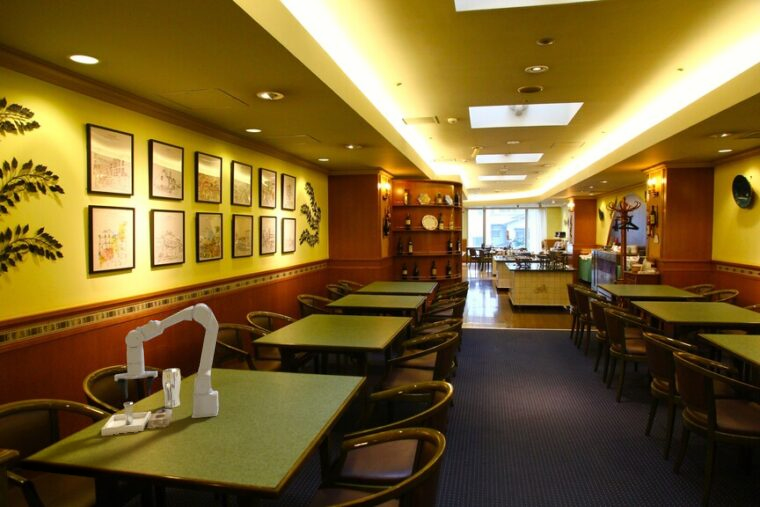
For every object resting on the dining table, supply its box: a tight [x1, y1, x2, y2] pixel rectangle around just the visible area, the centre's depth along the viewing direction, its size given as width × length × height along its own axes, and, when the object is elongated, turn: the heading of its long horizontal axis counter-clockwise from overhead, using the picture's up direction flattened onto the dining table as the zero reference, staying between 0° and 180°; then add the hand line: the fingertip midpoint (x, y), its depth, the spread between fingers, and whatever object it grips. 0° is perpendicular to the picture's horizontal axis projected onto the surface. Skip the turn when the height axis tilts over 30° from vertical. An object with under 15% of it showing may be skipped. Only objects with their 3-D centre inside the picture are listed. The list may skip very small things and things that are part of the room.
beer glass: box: [162, 367, 182, 409], centre depth 199 cm, size 7×7×15 cm
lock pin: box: [123, 401, 134, 425], centre depth 178 cm, size 3×3×8 cm
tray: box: [100, 411, 152, 437], centre depth 178 cm, size 14×14×2 cm
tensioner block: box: [147, 408, 173, 429], centre depth 183 cm, size 7×14×3 cm, turn 14°
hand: (137, 397), depth 180 cm, fingers open, 7 cm apart
